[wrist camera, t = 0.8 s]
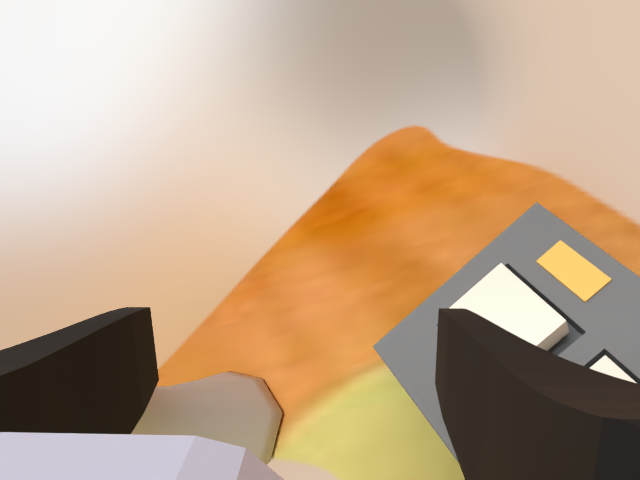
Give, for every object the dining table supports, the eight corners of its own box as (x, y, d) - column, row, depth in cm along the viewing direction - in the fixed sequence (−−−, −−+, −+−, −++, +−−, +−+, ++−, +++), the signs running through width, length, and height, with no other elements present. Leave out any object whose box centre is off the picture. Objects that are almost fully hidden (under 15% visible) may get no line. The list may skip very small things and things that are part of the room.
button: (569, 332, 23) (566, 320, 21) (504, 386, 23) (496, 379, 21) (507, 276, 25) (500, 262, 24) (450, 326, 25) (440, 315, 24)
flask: (242, 516, 29) (104, 526, 21) (176, 447, 33) (43, 433, 25) (302, 407, 30) (192, 377, 22) (231, 354, 34) (119, 314, 26)
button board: (1035, 590, 15) (1091, 603, 13) (725, 807, 16) (739, 844, 14) (540, 218, 27) (536, 200, 26) (385, 354, 28) (371, 345, 27)
